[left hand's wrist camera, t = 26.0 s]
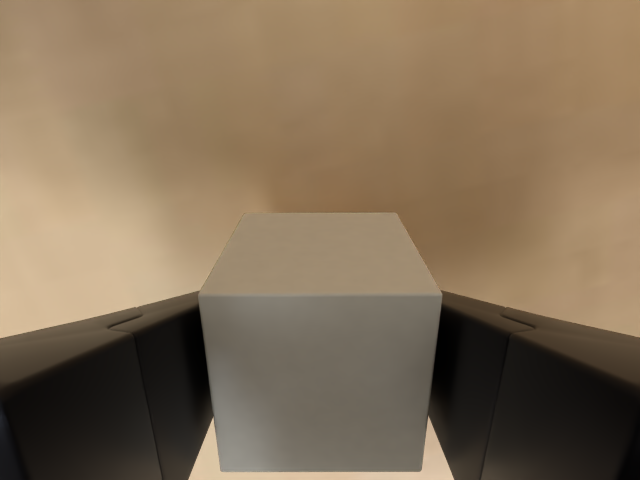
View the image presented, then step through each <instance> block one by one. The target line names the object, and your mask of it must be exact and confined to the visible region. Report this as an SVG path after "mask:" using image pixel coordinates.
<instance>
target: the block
mask: <svg viewBox="0 0 640 480" xmlns="http://www.w3.org/2000/svg"><path fill="white" fill-rule="evenodd" d="M198 300H199V308H200V316H201V324H202V331H203V339H204V347H205V354H206V362H207V370H208V378H209V385H210V393H211V401H212V408H213V416H214V424H215V432H216V439H217V447H218V455H219V462H220V470H221V472H420V471H421V470H422V462H423V454H424V445H425V437H426V429H427V420H428V412H429V404H430V395H431V387H432V379H433V370H434V362H435V353H436V345H437V337H438V328H439V320H440V312H441V303H442V292H441V291H440V289H439V287H438V285H437V284H436V282H435V280H434V278H433V277H432V275H431V273H430V271H429V270H428V268H427V266H426V264H425V262H424V261H423V259H422V257H421V255H420V254H419V252H418V250H417V248H416V247H415V245H414V243H413V241H412V239H411V238H410V236H409V234H408V232H407V231H406V229H405V227H404V225H403V224H402V222H401V220H400V218H399V217H398V215H397V213H395V212H364V213H244V215H243V216H242V218H241V220H240V222H239V224H238V225H237V227H236V229H235V231H234V232H233V234H232V236H231V238H230V239H229V241H228V243H227V245H226V246H225V248H224V250H223V252H222V253H221V255H220V257H219V259H218V260H217V262H216V264H215V266H214V268H213V269H212V271H211V273H210V275H209V276H208V278H207V280H206V282H205V283H204V285H203V287H202V289H201V290H200V292H199V294H198Z"/></svg>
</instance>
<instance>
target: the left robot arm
mask: <svg viewBox="0 0 640 480" xmlns="http://www.w3.org/2000/svg"><path fill="white" fill-rule="evenodd" d="M440 291H441V292H442V303H441V312H440V320H439V328H438V337H437V345H436V353H435V362H434V370H433V379H432V387H431V395H430V404H429V412H428V415H429V418H430V420H431V423H432V425H433V428H434V430H435V433H436V435H437V438H438V440H439V443H440V445H441V448H442V450H443V452H444V455H445V457H446V460H447V462H448V465H449V467H450V470H451V472H452V475H453V477H454V480H640V338H639V337H634V336H630V335H625V334H621V333H616V332H612V331H607V330H603V329H598V328H594V327H589V326H585V325H580V324H576V323H571V322H567V321H562V320H558V319H554V318H549V317H545V316H541V315H537V314H533V313H529V312H525V311H521V310H517V309H513V308H509V307H506V308H505V307H503V306H499V305H495V304H491V303H488V302H484V301H480V300H476V299H472V298H469V297H465V296H461V295H457V294H453V293H449V292H446V291H442V290H440ZM199 292H200V291H197V292H193V293H189V294H185V295H181V296H178V297H174V298H170V299H166V300H162V301H159V302H155V303H151V304H147V305H143V306H140V307H137V308H136V307H134V308H130V309H126V310H122V311H118V312H114V313H110V314H106V315H102V316H98V317H94V318H89V319H85V320H81V321H76V322H72V323H67V324H63V325H58V326H54V327H49V328H45V329H41V330H36V331H32V332H27V333H23V334H18V335H14V336H9V337H5V338H0V480H188V479H189V476H190V474H191V471H192V469H193V466H194V464H195V461H196V459H197V456H198V454H199V451H200V449H201V446H202V444H203V441H204V438H205V436H206V433H207V431H208V428H209V426H210V423H211V421H212V418H213V408H212V401H211V393H210V385H209V378H208V370H207V362H206V354H205V347H204V339H203V331H202V324H201V316H200V308H199V300H198V294H199Z"/></svg>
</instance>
